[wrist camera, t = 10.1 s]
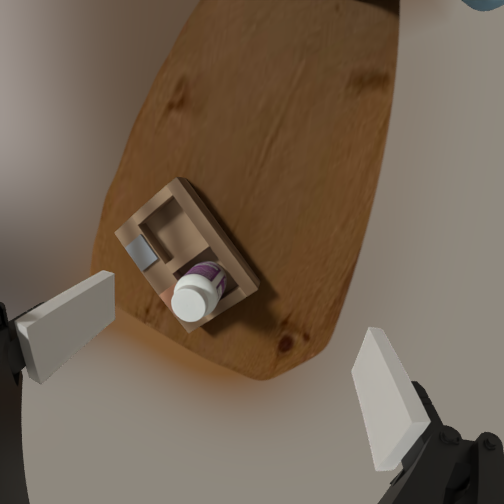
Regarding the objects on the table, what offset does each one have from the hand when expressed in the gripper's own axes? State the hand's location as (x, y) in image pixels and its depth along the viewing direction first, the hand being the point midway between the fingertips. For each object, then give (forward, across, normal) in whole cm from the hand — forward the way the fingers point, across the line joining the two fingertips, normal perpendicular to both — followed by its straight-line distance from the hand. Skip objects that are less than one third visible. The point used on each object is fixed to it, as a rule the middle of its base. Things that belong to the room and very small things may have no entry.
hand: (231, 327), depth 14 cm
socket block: (+26, -10, -5) cm, 28 cm away
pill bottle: (+25, -7, -8) cm, 27 cm away
